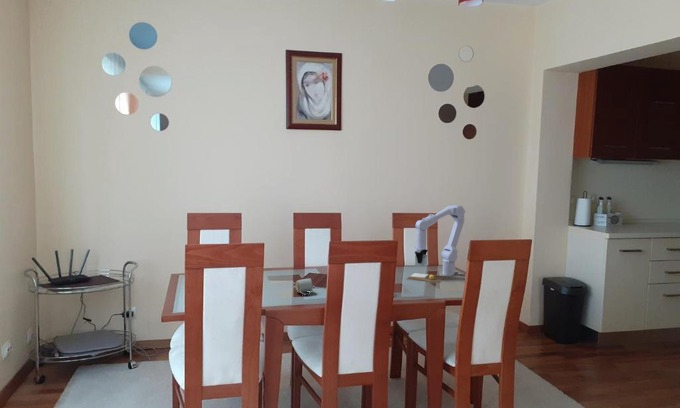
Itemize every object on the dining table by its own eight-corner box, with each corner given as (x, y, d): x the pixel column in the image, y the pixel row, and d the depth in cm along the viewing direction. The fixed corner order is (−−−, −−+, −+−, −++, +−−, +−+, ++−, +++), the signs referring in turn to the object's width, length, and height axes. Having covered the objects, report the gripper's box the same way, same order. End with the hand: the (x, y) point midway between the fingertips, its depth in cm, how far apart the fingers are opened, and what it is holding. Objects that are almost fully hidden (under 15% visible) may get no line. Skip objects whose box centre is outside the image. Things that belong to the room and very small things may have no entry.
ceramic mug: (294, 291, 255) (294, 278, 255) (309, 290, 258) (309, 276, 257) (299, 297, 245) (299, 282, 245) (314, 295, 248) (314, 281, 247)
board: (414, 274, 296) (414, 273, 296) (446, 277, 287) (446, 276, 287) (405, 281, 279) (405, 279, 279) (439, 284, 271) (439, 282, 271)
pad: (414, 273, 294) (414, 273, 294) (428, 275, 290) (428, 274, 290) (410, 276, 286) (410, 276, 286) (424, 278, 282) (424, 277, 282)
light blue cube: (417, 263, 290) (417, 254, 290) (427, 264, 288) (427, 254, 287) (415, 265, 285) (415, 255, 284) (424, 266, 282) (424, 256, 282)
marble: (429, 278, 281) (429, 273, 281) (434, 279, 280) (434, 274, 279) (428, 279, 278) (428, 274, 278) (433, 280, 277) (433, 275, 277)
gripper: (418, 238, 293) (417, 259, 294) (411, 241, 280) (411, 263, 281) (429, 238, 290) (428, 260, 292) (423, 242, 277) (423, 264, 278)
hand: (421, 262), depth 286 cm, fingers closed on light blue cube, 6 cm apart
